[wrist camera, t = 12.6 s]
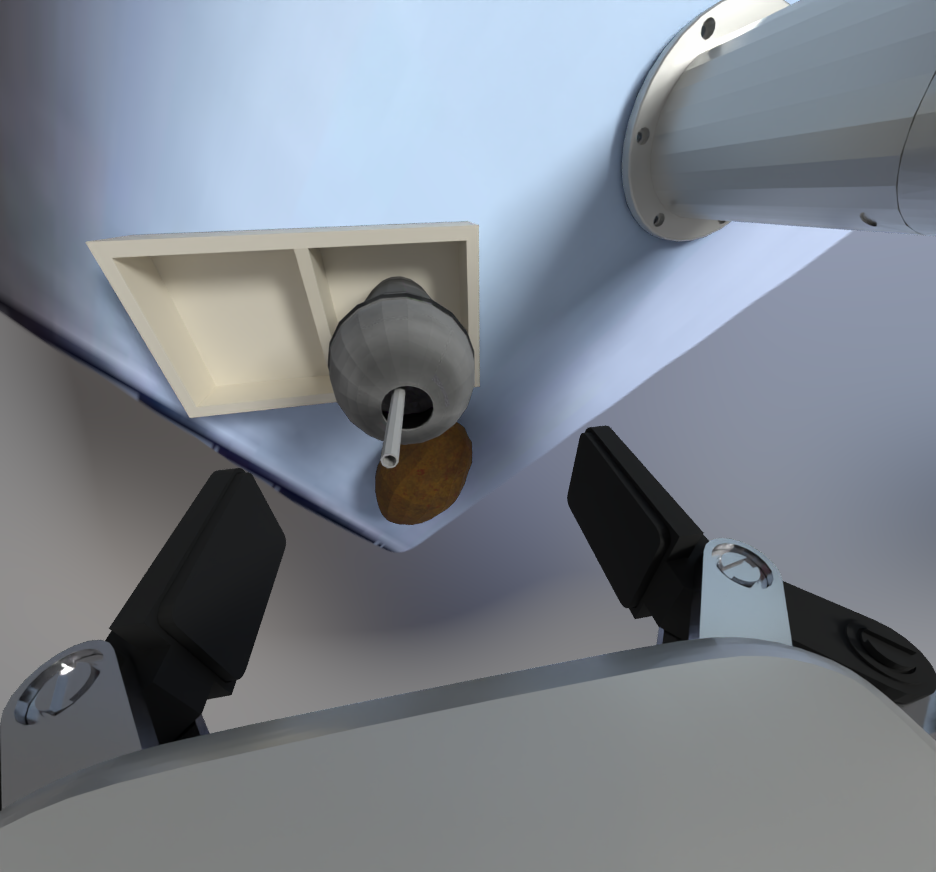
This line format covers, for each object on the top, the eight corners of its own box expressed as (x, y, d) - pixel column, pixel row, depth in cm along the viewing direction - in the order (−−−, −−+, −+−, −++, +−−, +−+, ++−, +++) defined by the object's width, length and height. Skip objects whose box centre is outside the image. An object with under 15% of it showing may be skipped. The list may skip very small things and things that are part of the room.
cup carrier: (467, 221, 24) (478, 224, 21) (470, 366, 31) (479, 386, 28) (131, 235, 21) (85, 241, 18) (213, 392, 28) (190, 418, 25)
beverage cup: (389, 368, 29) (386, 585, 13) (328, 290, 25) (213, 468, 9) (463, 323, 28) (559, 499, 12) (413, 233, 24) (459, 317, 8)
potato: (483, 419, 34) (503, 468, 28) (428, 501, 40) (435, 558, 33) (410, 388, 31) (414, 436, 25) (360, 483, 36) (354, 542, 30)
